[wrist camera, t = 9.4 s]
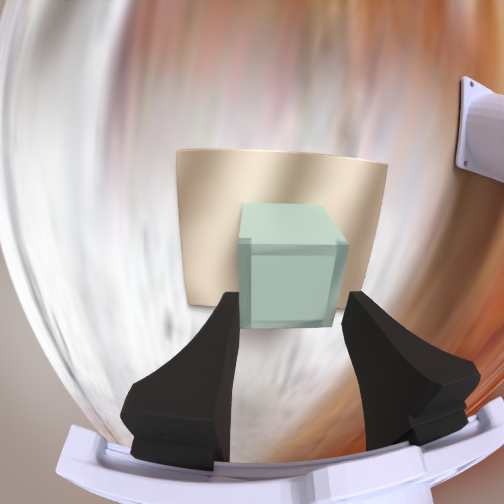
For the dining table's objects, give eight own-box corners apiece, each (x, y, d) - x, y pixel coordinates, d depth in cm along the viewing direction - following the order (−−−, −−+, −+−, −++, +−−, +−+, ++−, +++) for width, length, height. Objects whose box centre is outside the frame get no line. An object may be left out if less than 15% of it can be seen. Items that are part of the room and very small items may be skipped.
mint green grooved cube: (321, 204, 18) (349, 244, 12) (313, 271, 20) (331, 326, 15) (243, 203, 18) (237, 243, 12) (243, 271, 20) (240, 328, 15)
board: (382, 162, 17) (422, 181, 12) (352, 300, 23) (371, 345, 18) (180, 149, 17) (151, 163, 12) (190, 297, 23) (175, 344, 18)
